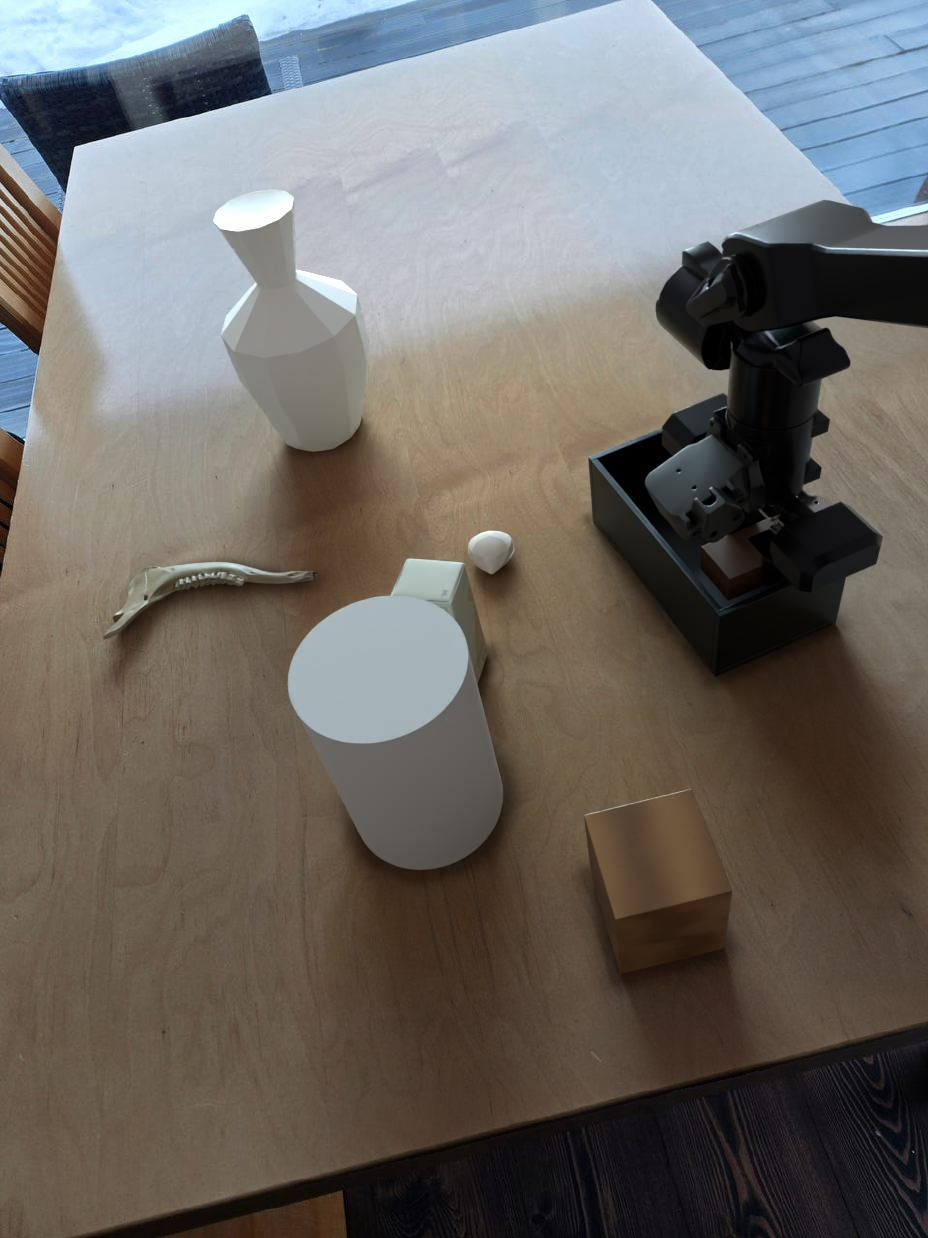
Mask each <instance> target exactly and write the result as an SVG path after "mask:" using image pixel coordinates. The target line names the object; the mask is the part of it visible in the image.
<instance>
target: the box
mask: <svg viewBox="0 0 928 1238" xmlns="http://www.w3.org/2000/svg"><path fill="white" fill-rule="evenodd" d="M389 596H408V597H414V598H419V599H422V600H425V601H428V602H430V603H433V604H435V605H437V606H438V607H440V608H442V609H443V610H445V611H446V612H447V613H448V614H450V615H451V616H452V617H453V618H454V620H455V621H456V622H457V623H458V625H459V626H460V628H461V629H462V631H463V634H464V636H465V639H466V642H467V646H468V650H469V654H470V658H471V662H472V666H473V670H474V674H475V678H476V682H477V684H478V683H479V681H480V678H481V675H482V672H483V669H484V666H485V662H486V659H487V655H488V652H489V651H488V646H487V643H486V639H485V635H484V631H483V627H482V624H481V620H480V616H479V612H478V609H477V604H476V601H475V598H474V594H473V589H472V586H471V582H470V579H469V574H468V571H467V568H466V564H465V562H459V561H458V562H457V561H447V560H437V559H436V560H435V559H420V558H407V559H406V560H405V562H404V564H403V566H402V568H401V571H400V572H399V575H398V577H397V579H396V581H395V584H394V585H393V589H392V591H391V593H390V595H389Z"/></svg>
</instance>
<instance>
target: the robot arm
mask: <svg viewBox="0 0 928 1238" xmlns="http://www.w3.org/2000/svg"><path fill="white" fill-rule="evenodd" d="M720 245H721V248H722V251H720V250H719V249H718V248H717V247H716V246H715V245H714V244H713V243H711V242H710V241H705V242H701V243H699V244H696V245H694V246H692V247H691V246H690V247H689V248H686V249H684V250H682V252H681V265H680V266H679V267H678V268H677V269H676V270H675V271H674V272H673V273H672V274H671V275H670V276H669V278H668V279H667V280H666V282H665V283H664V285H663V287H662V288H661V291H660V293H659V296H658V299H657V300H656V302H655V309H654V310H655V311H654V312H655V316H656V320H657V321H658V323H659V325H660V326H661V327H662V329H664V330H665V331H666V332H667V333H668V334H669V335H670V336H671V337H673V338H674V339H675V340H676V341H677V342H678V343H679V344H680V345H681V346H682V347H683V348H685V350H687V352H689V353H690V354H691V355H692V356H693V357H694V358H695V359H696V360H698V361H699V362H700V364H702V365H703V366H704V367H705V368H706V369H707V370H710V371H711V370H712V371H719V372H721V371H727V370H728V379H727V380H728V381H727V383H728V384H727V393H724V392H721V393H719V394H716V395H713V396H712V397H709V398H706V399H703V400H701V401H699V402H696V403H694V404H691V405H689V406H686V407H684V408H681V409H679V410H676V411H674V412H672V413H671V414H670V415H669V417H667V419H666V420H665V422H664V423H663V425H662V426H661V428H662V446H663V447H664V448H665V449H666V450H667V451H668V452H669V453H670V454H671V455H672V456H673V457H671V458H670V459H669V460H667V461H666V462H664V463H663V464H662V465H660V466H659V467H658V468H656V469H655V470H653V471H652V472H651V473H650V474H649V475H648V476H647V477H646V480H645V486H646V488H647V490H648V492H649V494H650V496H651V497H652V499H653V501H654V503H655V505H656V507H657V508H658V510H659V512H660V513H661V515H662V516H664V518H665V519H666V520H667V521H668V522H669V523H670V525H671V526H672V527H673V528H674V529H675V530H676V532H677V533H678V534H679V536H680V537H681V538H683V539H685V540H689V541H690V540H696V539H698V538H700V537H704V538H705V539H706V540H707V541H708V542H709V543H715V542H718V541H719V540H721V539H722V538H724V537H725V536H726V535H727V536H728V535H730V534H732V533H735V532H737V531H740V530H742V529H744V528H747V527H749V526H751V525H754V524H756V521H757V518H758V515H759V512H760V513H761V514H762V515H763V516H764V517H765V518H766V519H767V520H768V521H774V523H775V525H771V526H770V529H767V530H765V531H763V532H760V533H758V534H756V535H753V536H751V537H748V538H747V540H748V541H749V542H750V544H751V545H752V546H753V547H754V548H755V549H756V550H757V551H758V552H759V553H760V554H761V555H762V580H763V584H764V585H765V586H769V585H772V584H774V583H776V582H778V581H779V580H780V579H781V578H782V577H783V575H784V576H785V577H786V578H787V579H788V580H789V582H790V583H791V584H792V585H793V586H794V587H795V588H796V589H797V590H798V591H803V592H809V593H811V592H813V591H816V590H818V589H820V588H823V587H825V586H827V585H830V584H832V583H834V582H836V581H839V580H841V579H843V578H846V579H847V577H850V576H852V575H854V574H856V573H860V572H862V571H863V570H866V569H869V568H871V567H873V566H875V565H877V564H878V563H877V562H878V559H879V555H880V552H881V547H882V543H883V538H884V537H883V535H882V534H881V533H880V532H879V531H878V530H877V529H876V528H875V527H873V526H872V525H871V524H870V523H869V522H868V521H867V520H866V519H865V518H863V517H862V515H860V514H859V513H858V512H857V511H856V510H855V509H854V508H853V507H852V506H851V505H848V503H847V504H846V503H845V502H843V501H838V502H836V503H833V504H831V503H830V502H829V501H828V500H827V499H826V498H825V497H823V496H821V495H816V494H815V495H811V494H808V492H806V491H805V489H803V488H804V486H805V485H807V484H810V483H812V482H815V481H817V480H819V479H821V476H822V475H821V474H822V470H823V469H822V468H823V467H822V466H821V465H820V464H819V463H818V462H817V461H816V460H814V459H813V458H812V457H811V452H812V446H813V440H814V438H816V437H818V436H821V435H823V434H825V433H828V432H829V428H830V422H831V419H830V418H829V417H828V416H827V415H826V414H825V413H824V412H822V411H821V410H820V409H818V407H819V401H820V395H821V387H822V383H823V379H825V378H828V377H830V376H832V375H833V376H834V375H835V374H836V375H837V374H838V373H840V372H843V371H845V370H848V369H849V368H850V367H851V365H852V364H851V363H852V361H851V359H850V357H849V354H848V352H847V350H846V349H845V347H844V346H843V345H842V344H840V343H838V342H837V340H836V339H835V338H834V336H833V333H832V331H831V329H830V328H829V327H821V326H820V325H818V323H816V322H815V321H818V320H822V319H829V318H842V319H843V318H844V319H851V320H852V319H853V320H860V321H867V322H874V323H884V324H891V325H899V326H907V327H914V328H923V329H928V224H927V225H926V224H925V225H918V224H917V225H886V224H881V223H878V222H874V221H873V220H872V217H871V215H870V214H869V212H868V211H867V210H866V209H864V208H863V207H859V206H855V205H852V204H851V205H850V204H846V203H843V202H838V201H835V200H829V199H821V200H818V201H815V202H813V203H810V204H807V205H805V206H802V207H799V208H797V209H794V210H792V211H789V212H786V213H783V214H781V215H778V216H776V217H773V218H770V219H767V220H764V221H761V222H759V223H756V224H754V225H751V226H749V227H745V228H743V229H740V230H737V231H735V232H732V233H730V234H727V235H726V236H725V237H724V238H723V240H722V242H721V244H720Z"/></svg>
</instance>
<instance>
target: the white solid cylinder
mask: <svg viewBox="0 0 928 1238" xmlns="http://www.w3.org/2000/svg"><path fill="white" fill-rule="evenodd" d="M287 690H288V696H289V700H290V703H291V706H292V707H293V708H294V712H295V713H296V715H297V717H298V719H299V721H300V724H302V727H303V728H304V730H305V732H306V734H307V736H308V738H309V740H310V742H311V744H312V746H313V747H314V750H315V751H316V753H317V755H318V757H319V759H320V761H321V763H322V765H323V767H324V769H325V771H326V772H327V775H328V776H329V778H330V780H331V782H332V784H333V787H334V788H335V790H336V792H337V794H338V796H339V797H340V799H341V801H342V803H343V805H344V807H345V809H346V811H347V813H348V815H349V817H350V819H351V820H352V823H353V824H354V826H355V828H356V830H357V832H358V834H359V836H360V839H361V840H362V841H363V843H364V844H365V845H366V847H367V848H368V849H369V850H370V851H371V852H372V853H373V854H374V855H375V856H376V857H378V858H379V859H380V860H383V862H386V863H387V864H390V865H393V866H394V867H395V866H396V867H397V868H402V869H407V870H413V871H415V870H416V871H425V870H434V869H439V868H440V869H441V868H443V867H447V866H450V865H452V864H455V863H457V862H460V861H461V860H462V859H465V858H466V857H467V856H469V855H471V854H472V853H473V852H475V851H476V850H477V849H478V848H479V847H480V846H481V845H482V844H484V842H485V841H486V840H487V839H488V837H489V836H490V835H491V833H492V832H493V830H494V829H495V827H496V826H497V823H498V820H499V818H500V816H501V812H502V808H503V803H504V788H503V782H502V778H501V774H500V769H499V766H498V761H497V757H496V754H495V750H494V745H493V741H492V737H491V734H490V730H489V726H488V722H487V717H486V714H485V710H484V706H483V701H482V698H481V694H480V690H479V686H478V683H477V682H476V678H475V674H474V670H473V666H472V662H471V658H470V654H469V650H468V646H467V642H466V639H465V636H464V634H463V631H462V629H461V628H460V626H459V625H458V623H457V622H456V621H455V620H454V618H453V617H452V616H451V615H450V614H448V613H447V612H446V611H445V610H443V609H442V608H440V607H438V606H437V605H435V604H433V603H430V602H428V601H425V600H422V599H419V598H414V597H408V596H390V595H380V596H373V597H370V598H365V599H361V600H358V601H355V602H353V603H350V604H347V605H346V606H344V607H341V608H339V609H337V610H336V611H334V612H332V613H330V614H329V615H327V616H326V617H325V618H324V619H322V620H321V621H319V622H318V623H317V624H316V625H315V626H314V627H313V628H312V629H311V630H310V631H309V632H308V633H307V635H306V636H305V637H304V638H303V640H302V641H300V644H299V645H298V647H297V649H296V650H295V652H294V655H293V657H292V659H291V661H290V665H289V669H288V675H287Z"/></svg>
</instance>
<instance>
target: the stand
mask: <svg viewBox="0 0 928 1238" xmlns="http://www.w3.org/2000/svg"><path fill="white" fill-rule="evenodd" d="M583 819H584V821H583V822H584V828H585V835H586V843H587V844H586V845H587V851H588V861H589V867H590V868H589V869H590V874H591V880H592V883H593V886H594V889H595V893H596V897H597V901H598V904H599V906H600V911H601V914H602V916H603V921H604V923H605V927H606V931H607V934H608V937H609V940H610V945H611V947H612V952H613V955H614V958H615V962H616V964H617V968H618V971H619V974H620V975H622V974H625V973H631V972H634V971H635V972H636V971H639V970H643V969H646V968H651V967H655V966H659V965H663V964H667V963H673V962H675V961H679V960H683V959H688V958H692V957H696V956H700V955H704V954H710V953H713V952H717V951H721V950H724V949H725V945H726V939H727V931H728V925H729V918H730V911H731V904H732V896H733V888H732V886H731V884H730V881H729V878H728V876H727V874H726V871H725V869H724V866H723V864H722V861H721V858H720V856H719V853H718V851H717V848H716V846H715V844H714V841H713V838H712V836H711V834H710V830H709V829H708V826H707V823H706V821H705V819H704V816H703V813H702V810H701V808H700V806H699V803H698V800H697V799H696V796H695V794H694V791H693V789H692V788H689V789H685V790H680V791H677V792H672V793H669V794H664V795H659V796H656V797H652V798H648V799H644V800H640V801H635V802H630V803H627V804H624V805H619V806H615V807H611V808H608V809H603V810H598V811H595V812H591V813H586V814H584V815H583Z"/></svg>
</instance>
